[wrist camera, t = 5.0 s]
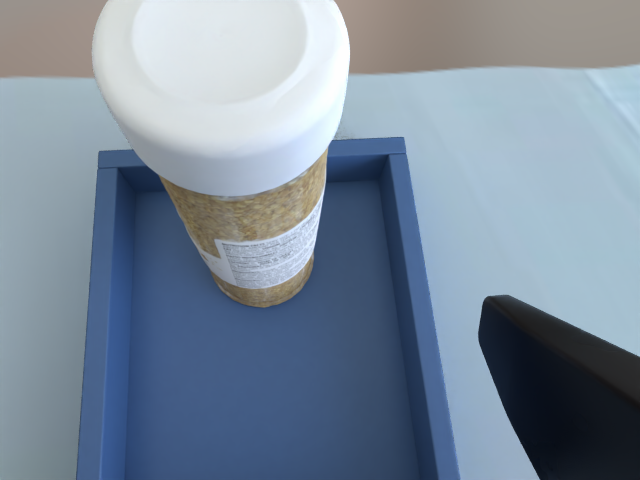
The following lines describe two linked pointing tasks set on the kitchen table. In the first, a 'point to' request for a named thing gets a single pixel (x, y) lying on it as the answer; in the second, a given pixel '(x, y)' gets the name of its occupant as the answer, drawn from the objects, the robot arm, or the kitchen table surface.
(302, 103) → the sprinkles bottle
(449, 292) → the kitchen table surface
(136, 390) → the tray
